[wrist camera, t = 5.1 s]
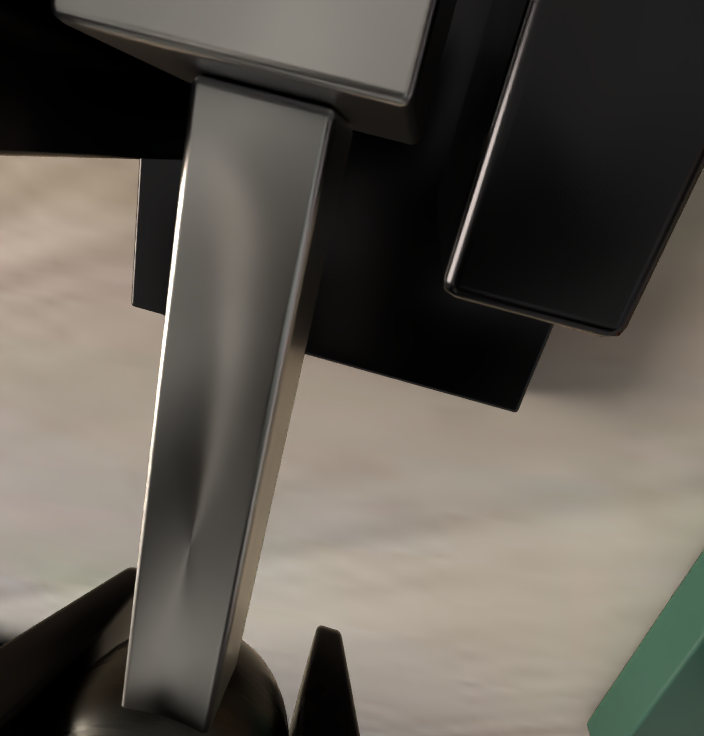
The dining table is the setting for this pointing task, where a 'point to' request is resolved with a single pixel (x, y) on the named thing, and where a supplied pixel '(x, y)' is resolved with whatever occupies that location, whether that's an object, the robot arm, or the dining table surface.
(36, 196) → the dining table surface
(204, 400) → the switch lever
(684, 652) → the button block
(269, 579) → the dining table surface
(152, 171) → the switch bracket
